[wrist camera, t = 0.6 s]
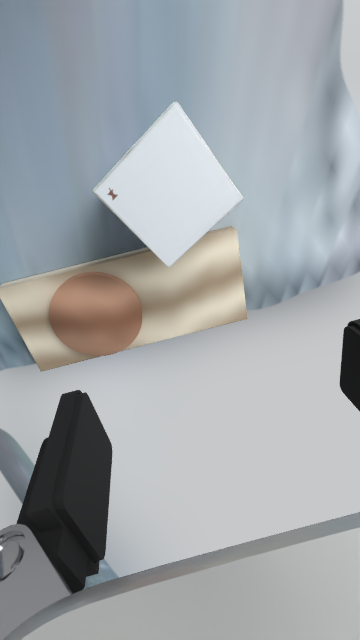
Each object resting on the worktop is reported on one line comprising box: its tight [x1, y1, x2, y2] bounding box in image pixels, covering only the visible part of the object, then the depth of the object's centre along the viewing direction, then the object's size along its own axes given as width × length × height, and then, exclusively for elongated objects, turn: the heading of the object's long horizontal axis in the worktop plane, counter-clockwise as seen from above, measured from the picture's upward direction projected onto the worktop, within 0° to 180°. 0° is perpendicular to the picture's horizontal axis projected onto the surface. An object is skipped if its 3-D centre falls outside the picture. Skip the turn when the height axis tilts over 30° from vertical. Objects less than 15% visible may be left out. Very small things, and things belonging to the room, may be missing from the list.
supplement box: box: [92, 102, 243, 267], centre depth 25 cm, size 7×7×13 cm
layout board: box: [0, 226, 247, 371], centre depth 35 cm, size 11×26×3 cm, turn 102°
